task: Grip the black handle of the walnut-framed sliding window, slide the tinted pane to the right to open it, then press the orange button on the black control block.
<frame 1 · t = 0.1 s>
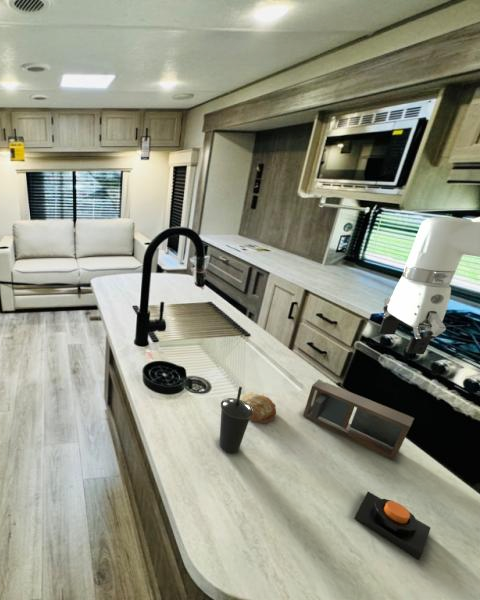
hand: (399, 342, 75), 32 cm above the counter, tool pointing down, fingers open, 9 cm apart
window sash: (328, 412, 90), point 6 cm above the counter, slide at 0.0 cm
control block: (389, 526, 66), on the counter
button: (396, 512, 65), point 4 cm above the counter, slide at 0.1 cm
bread roll: (256, 412, 99), on the counter
window frame: (347, 432, 90), on the counter
drinking cup: (228, 447, 87), on the counter
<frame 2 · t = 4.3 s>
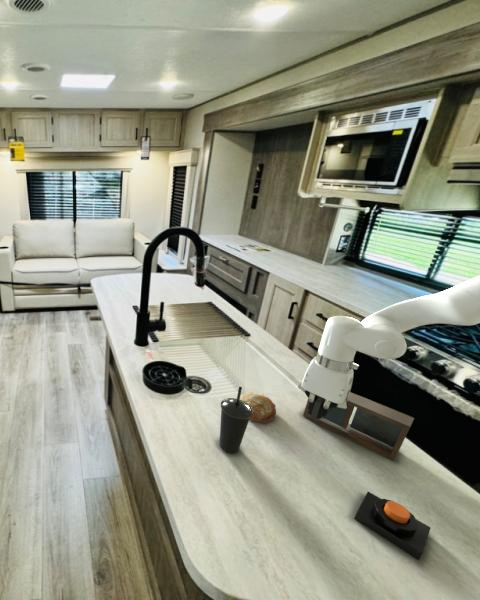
hand: (316, 414, 91), 5 cm above the counter, tool pointing down, fingers closed
window sash: (328, 412, 90), point 6 cm above the counter, slide at 0.0 cm, touching gripper
everything else where it was.
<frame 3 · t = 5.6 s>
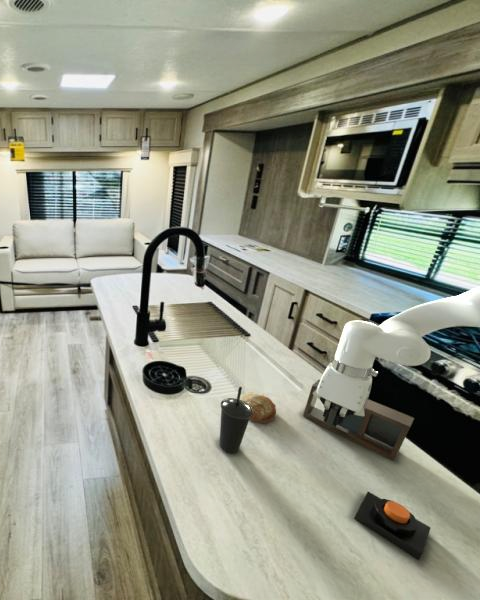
hand: (331, 421, 88), 5 cm above the counter, tool pointing down, fingers closed
window sash: (344, 420, 87), point 6 cm above the counter, slide at 3.8 cm, touching gripper
everything else where it was.
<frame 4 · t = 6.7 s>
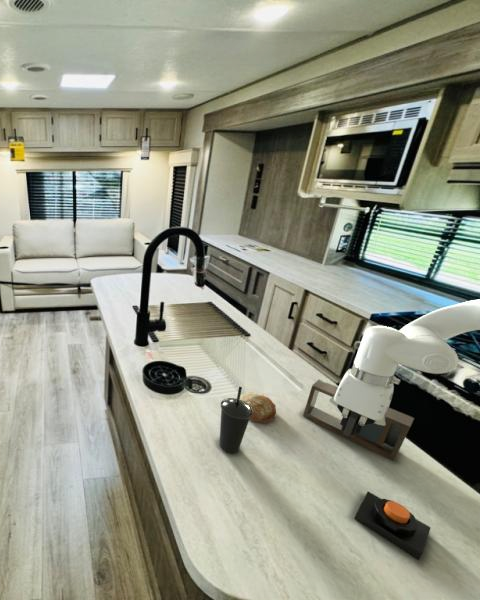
hand: (349, 430, 85), 5 cm above the counter, tool pointing down, fingers closed
window sash: (362, 428, 84), point 6 cm above the counter, slide at 7.8 cm, touching gripper
everything else where it was.
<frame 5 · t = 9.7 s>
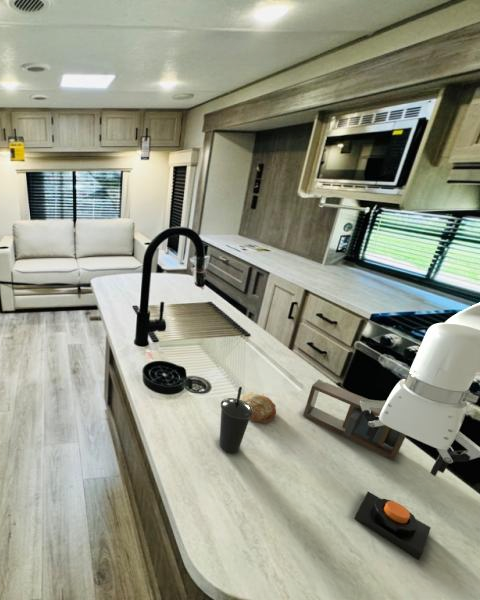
hand: (400, 454, 65), 15 cm above the counter, tool pointing down, fingers open, 9 cm apart
window sash: (363, 429, 84), point 6 cm above the counter, slide at 7.9 cm
everything else where it was.
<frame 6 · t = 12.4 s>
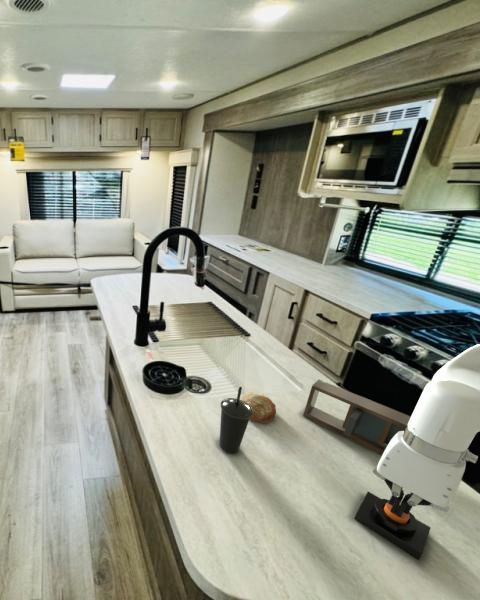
hand: (396, 510, 64), 5 cm above the counter, tool pointing down, fingers closed
button: (396, 513, 65), point 4 cm above the counter, slide at -0.2 cm, touching gripper
everything else where it was.
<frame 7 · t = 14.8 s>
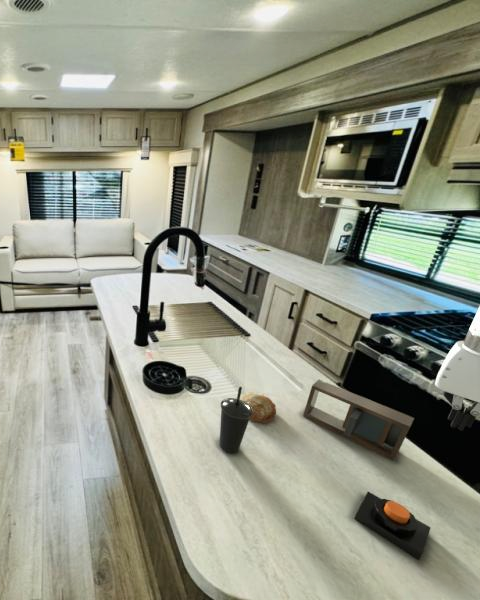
hand: (457, 425, 62), 23 cm above the counter, tool pointing down, fingers closed
button: (396, 512, 65), point 4 cm above the counter, slide at 0.1 cm
everything else where it was.
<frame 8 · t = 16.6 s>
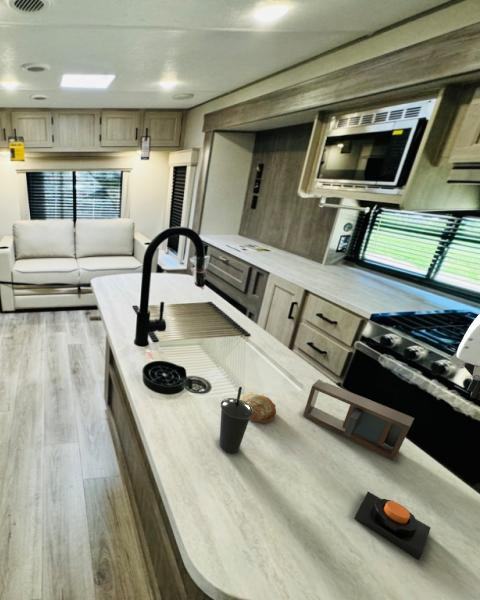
hand: (476, 396, 64), 27 cm above the counter, tool pointing down, fingers closed
nothing on the counter moved.
at the end: window sash slide at 7.9 cm; button pushed in 1.1 cm at the most during the clip, back to where it started at the end; button slide at 0.1 cm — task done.
